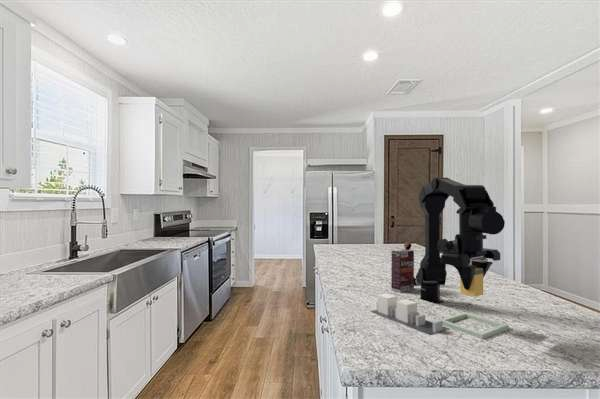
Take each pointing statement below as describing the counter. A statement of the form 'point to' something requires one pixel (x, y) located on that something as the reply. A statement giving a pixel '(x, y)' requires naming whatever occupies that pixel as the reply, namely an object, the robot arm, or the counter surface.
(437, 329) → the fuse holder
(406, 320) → the block
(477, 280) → the block
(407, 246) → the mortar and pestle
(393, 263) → the supplement box
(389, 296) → the block
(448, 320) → the tray
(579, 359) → the counter surface
